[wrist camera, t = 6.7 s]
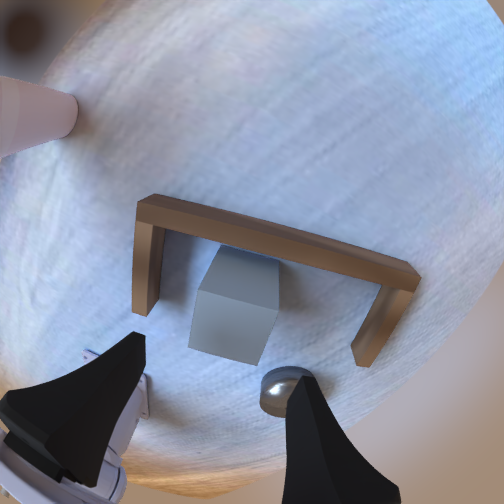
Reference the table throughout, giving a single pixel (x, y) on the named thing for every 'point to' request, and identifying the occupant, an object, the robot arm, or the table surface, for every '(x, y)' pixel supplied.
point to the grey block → (236, 306)
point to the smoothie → (33, 115)
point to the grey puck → (279, 388)
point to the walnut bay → (274, 244)
